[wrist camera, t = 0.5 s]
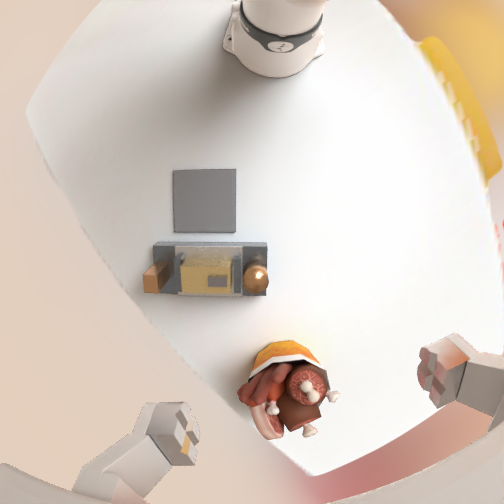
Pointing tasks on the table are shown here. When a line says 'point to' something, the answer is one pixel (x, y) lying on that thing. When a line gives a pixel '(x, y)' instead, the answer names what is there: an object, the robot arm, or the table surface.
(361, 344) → the table surface
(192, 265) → the tan rectangular block
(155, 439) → the robot arm
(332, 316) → the table surface
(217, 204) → the mat
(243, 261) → the hand plane
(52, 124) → the table surface
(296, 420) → the fried chicken
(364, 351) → the table surface
